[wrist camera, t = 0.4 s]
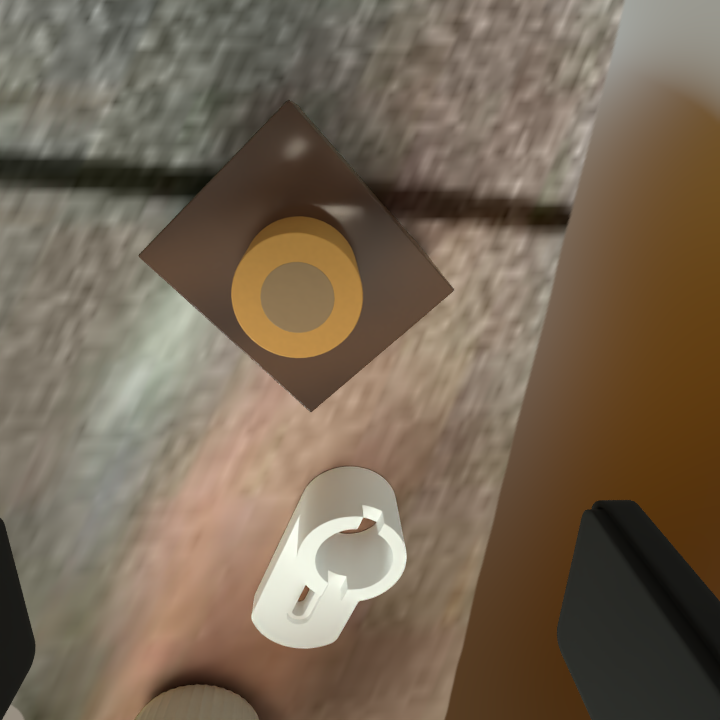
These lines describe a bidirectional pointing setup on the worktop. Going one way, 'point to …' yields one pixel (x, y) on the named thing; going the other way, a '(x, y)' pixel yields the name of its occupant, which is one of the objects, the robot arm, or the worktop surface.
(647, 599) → the robot arm
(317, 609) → the white slotted cylinder
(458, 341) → the worktop surface
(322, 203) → the brown square pedestal
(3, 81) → the worktop surface
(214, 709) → the canister
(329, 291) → the tape roll
